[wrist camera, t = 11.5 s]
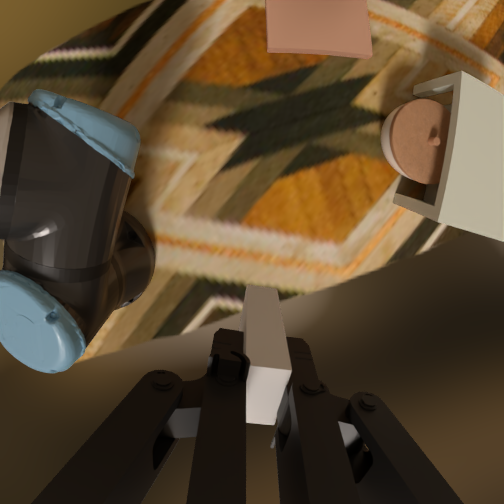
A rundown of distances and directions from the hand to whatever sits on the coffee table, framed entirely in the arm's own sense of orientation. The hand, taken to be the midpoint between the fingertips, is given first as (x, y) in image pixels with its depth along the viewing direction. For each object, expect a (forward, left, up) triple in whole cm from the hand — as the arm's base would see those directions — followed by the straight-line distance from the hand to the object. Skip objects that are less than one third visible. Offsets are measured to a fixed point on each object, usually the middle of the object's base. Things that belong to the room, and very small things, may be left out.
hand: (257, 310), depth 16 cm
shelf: (+26, +14, -28) cm, 41 cm away
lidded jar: (+19, +14, -29) cm, 37 cm away
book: (+4, +28, -29) cm, 41 cm away
